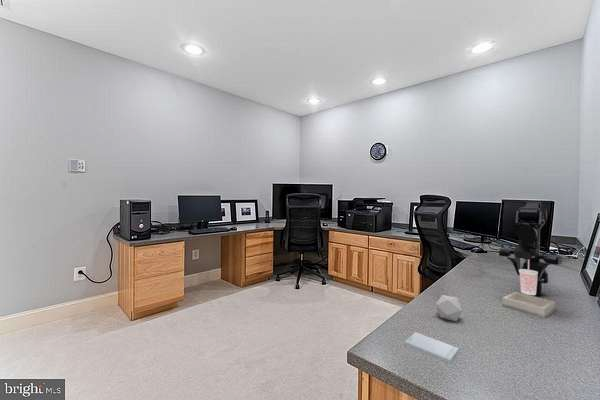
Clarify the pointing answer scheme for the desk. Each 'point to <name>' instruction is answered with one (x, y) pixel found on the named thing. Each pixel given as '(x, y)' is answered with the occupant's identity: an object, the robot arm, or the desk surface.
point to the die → (449, 308)
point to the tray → (529, 304)
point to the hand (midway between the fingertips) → (528, 277)
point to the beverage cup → (528, 281)
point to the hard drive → (432, 347)
